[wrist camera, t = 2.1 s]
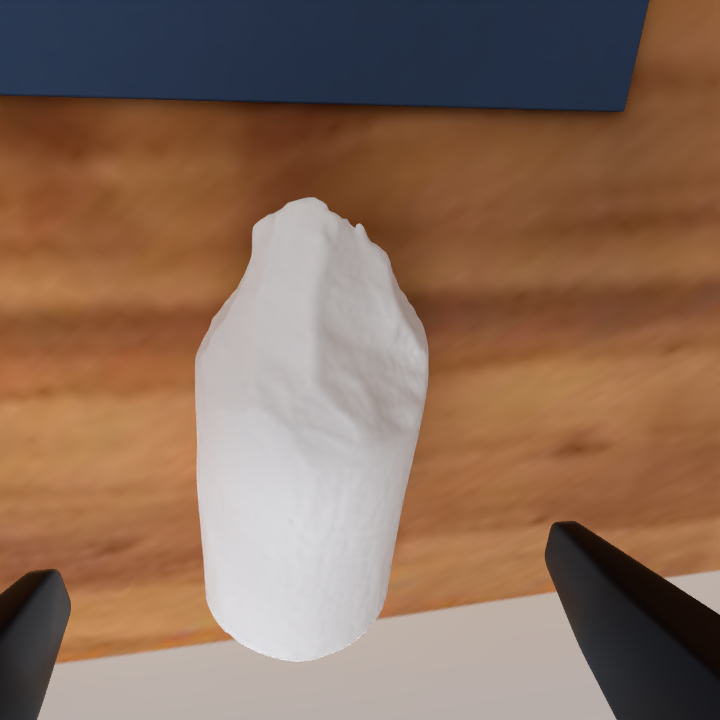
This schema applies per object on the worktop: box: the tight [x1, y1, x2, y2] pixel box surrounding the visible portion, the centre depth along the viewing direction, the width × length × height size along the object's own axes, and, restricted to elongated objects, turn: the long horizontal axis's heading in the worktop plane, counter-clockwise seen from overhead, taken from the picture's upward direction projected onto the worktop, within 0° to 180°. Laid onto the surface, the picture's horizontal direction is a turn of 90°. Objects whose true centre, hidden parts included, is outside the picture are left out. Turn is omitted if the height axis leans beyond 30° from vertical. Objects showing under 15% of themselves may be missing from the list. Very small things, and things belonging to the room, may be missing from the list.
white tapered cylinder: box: [195, 197, 429, 662], centre depth 12 cm, size 6×12×6 cm, turn 174°
